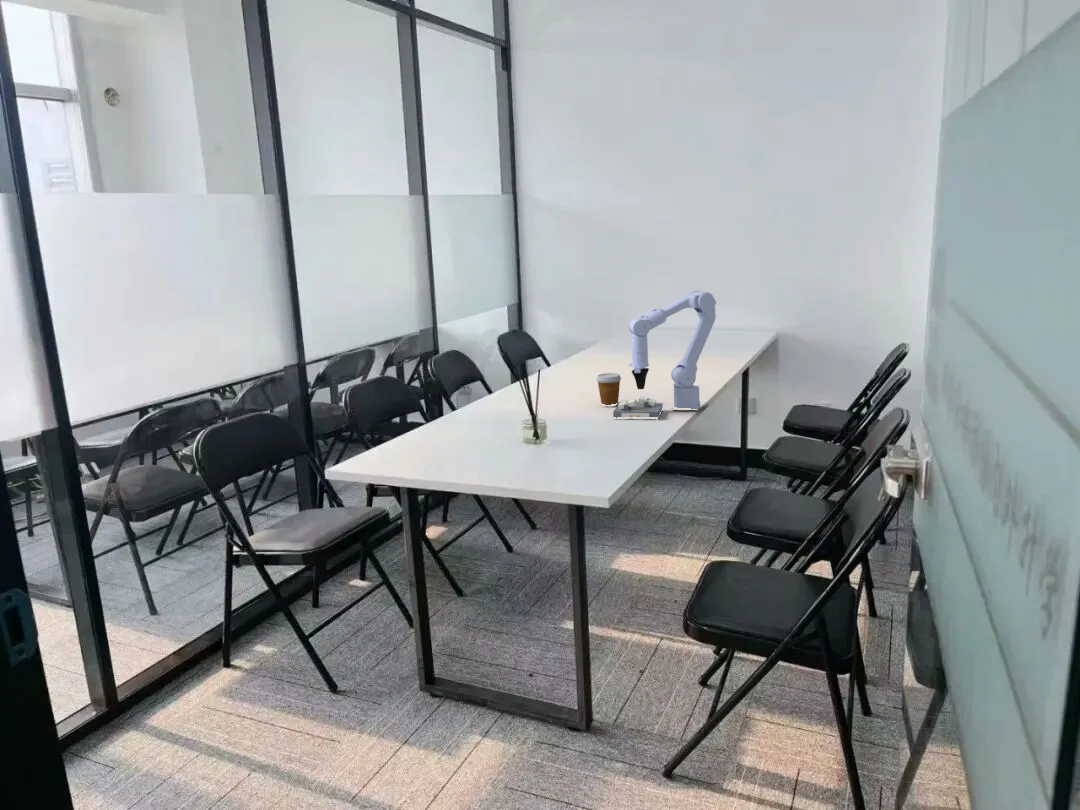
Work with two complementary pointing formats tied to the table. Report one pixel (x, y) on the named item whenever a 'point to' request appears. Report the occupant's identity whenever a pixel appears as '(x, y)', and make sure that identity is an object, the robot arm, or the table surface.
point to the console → (639, 410)
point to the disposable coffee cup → (609, 387)
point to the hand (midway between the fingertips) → (640, 388)
